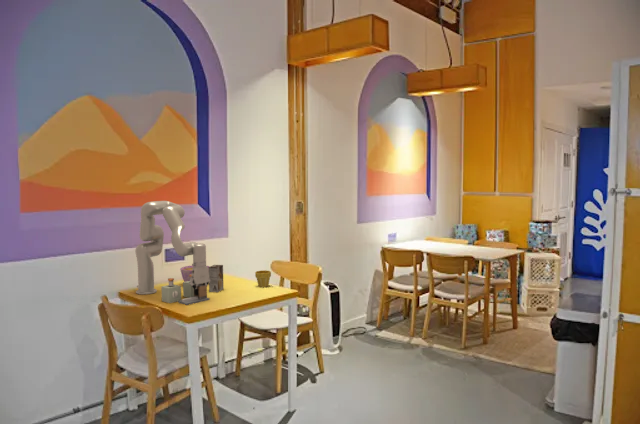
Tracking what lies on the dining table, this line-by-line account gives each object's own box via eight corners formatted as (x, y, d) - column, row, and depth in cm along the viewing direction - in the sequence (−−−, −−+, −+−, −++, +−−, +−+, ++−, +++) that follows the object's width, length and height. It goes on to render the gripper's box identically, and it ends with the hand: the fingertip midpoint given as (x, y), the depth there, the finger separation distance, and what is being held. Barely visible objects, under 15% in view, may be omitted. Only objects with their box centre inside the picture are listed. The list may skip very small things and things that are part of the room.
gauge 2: (188, 285, 321) (188, 274, 320) (193, 284, 323) (192, 274, 323) (191, 286, 319) (191, 275, 318) (196, 285, 321) (196, 274, 321)
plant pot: (253, 287, 344) (253, 273, 343) (258, 284, 354) (257, 270, 354) (268, 288, 342) (268, 273, 342) (272, 284, 353) (272, 270, 352)
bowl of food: (174, 285, 351) (173, 268, 350) (195, 280, 368) (195, 264, 367) (195, 289, 340) (195, 271, 340) (216, 283, 357) (216, 266, 357)
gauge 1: (167, 290, 309) (166, 278, 309) (172, 289, 312) (171, 277, 311) (170, 291, 307) (170, 279, 307) (175, 290, 310) (175, 278, 309)
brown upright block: (194, 297, 313) (193, 284, 312) (200, 296, 316) (200, 283, 316) (200, 299, 309) (199, 286, 308) (207, 297, 312) (206, 284, 312)
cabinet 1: (161, 301, 310) (161, 286, 309) (173, 298, 316) (173, 284, 315) (169, 303, 304) (169, 288, 304) (181, 300, 310) (181, 286, 310)
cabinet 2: (183, 296, 321) (182, 282, 320) (194, 294, 327) (193, 280, 326) (191, 298, 316) (191, 284, 315) (202, 296, 322) (201, 282, 321)
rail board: (177, 302, 306) (177, 298, 306) (200, 297, 318) (200, 293, 318) (186, 305, 300) (186, 300, 300) (209, 299, 312) (209, 295, 312)
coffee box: (214, 288, 342) (214, 264, 340) (223, 289, 340) (223, 264, 339) (208, 291, 333) (208, 267, 331) (218, 292, 331) (217, 267, 330)
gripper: (191, 267, 302) (192, 298, 303) (215, 263, 315) (215, 292, 316) (183, 265, 307) (184, 296, 308) (207, 261, 320) (208, 290, 321)
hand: (200, 294), depth 312 cm, fingers closed on brown upright block, 5 cm apart
